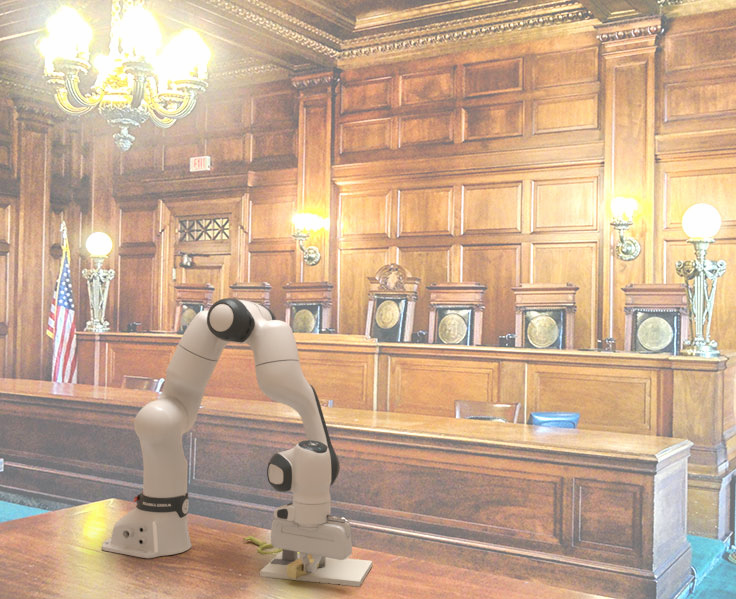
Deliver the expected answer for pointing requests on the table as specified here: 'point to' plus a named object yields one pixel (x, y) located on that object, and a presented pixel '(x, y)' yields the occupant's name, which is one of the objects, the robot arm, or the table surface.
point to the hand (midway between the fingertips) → (310, 572)
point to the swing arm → (301, 567)
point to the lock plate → (320, 570)
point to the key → (262, 545)
